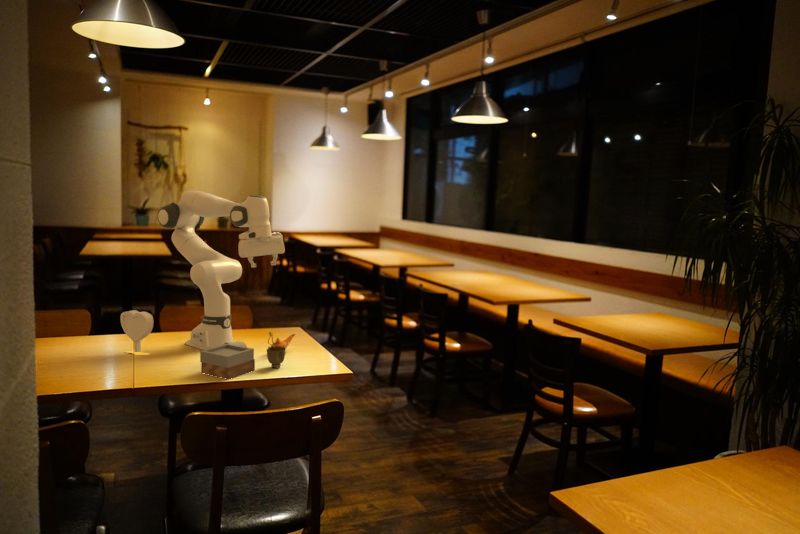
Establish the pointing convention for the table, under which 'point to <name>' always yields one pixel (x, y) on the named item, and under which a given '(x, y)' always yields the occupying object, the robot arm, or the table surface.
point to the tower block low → (228, 369)
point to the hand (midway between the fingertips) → (263, 266)
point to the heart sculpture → (137, 326)
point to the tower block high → (227, 355)
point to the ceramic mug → (237, 343)
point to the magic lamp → (281, 343)
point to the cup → (276, 356)
